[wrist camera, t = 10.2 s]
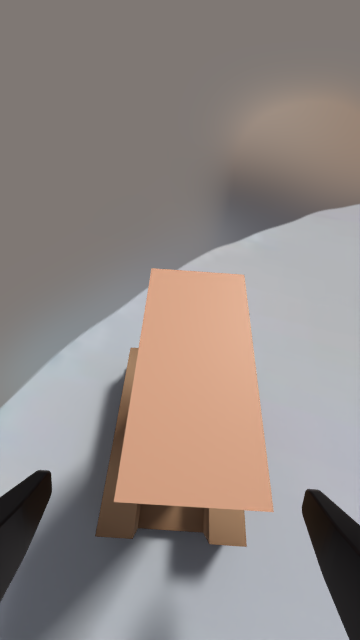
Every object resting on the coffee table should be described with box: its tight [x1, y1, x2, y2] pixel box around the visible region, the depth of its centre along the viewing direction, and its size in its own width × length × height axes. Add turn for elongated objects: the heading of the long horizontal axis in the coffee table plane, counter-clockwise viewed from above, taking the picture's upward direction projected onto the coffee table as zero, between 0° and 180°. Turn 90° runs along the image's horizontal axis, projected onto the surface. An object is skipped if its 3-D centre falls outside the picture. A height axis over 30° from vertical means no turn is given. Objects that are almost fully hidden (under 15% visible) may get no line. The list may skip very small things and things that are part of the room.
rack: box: [95, 348, 247, 547], centre depth 15 cm, size 10×8×3 cm
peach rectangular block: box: [114, 268, 274, 512], centre depth 10 cm, size 5×2×13 cm, turn 177°
